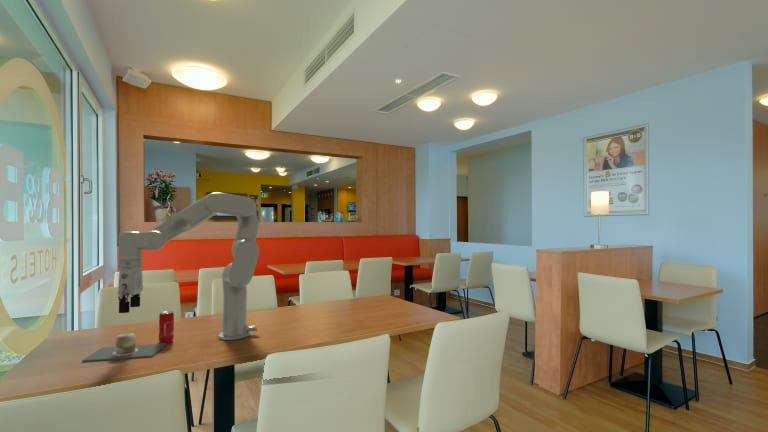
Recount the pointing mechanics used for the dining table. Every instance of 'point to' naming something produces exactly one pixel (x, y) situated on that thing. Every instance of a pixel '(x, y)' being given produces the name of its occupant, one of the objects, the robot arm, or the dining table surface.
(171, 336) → the beverage can
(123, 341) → the birch drum
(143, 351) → the mat
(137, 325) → the dining table surface
